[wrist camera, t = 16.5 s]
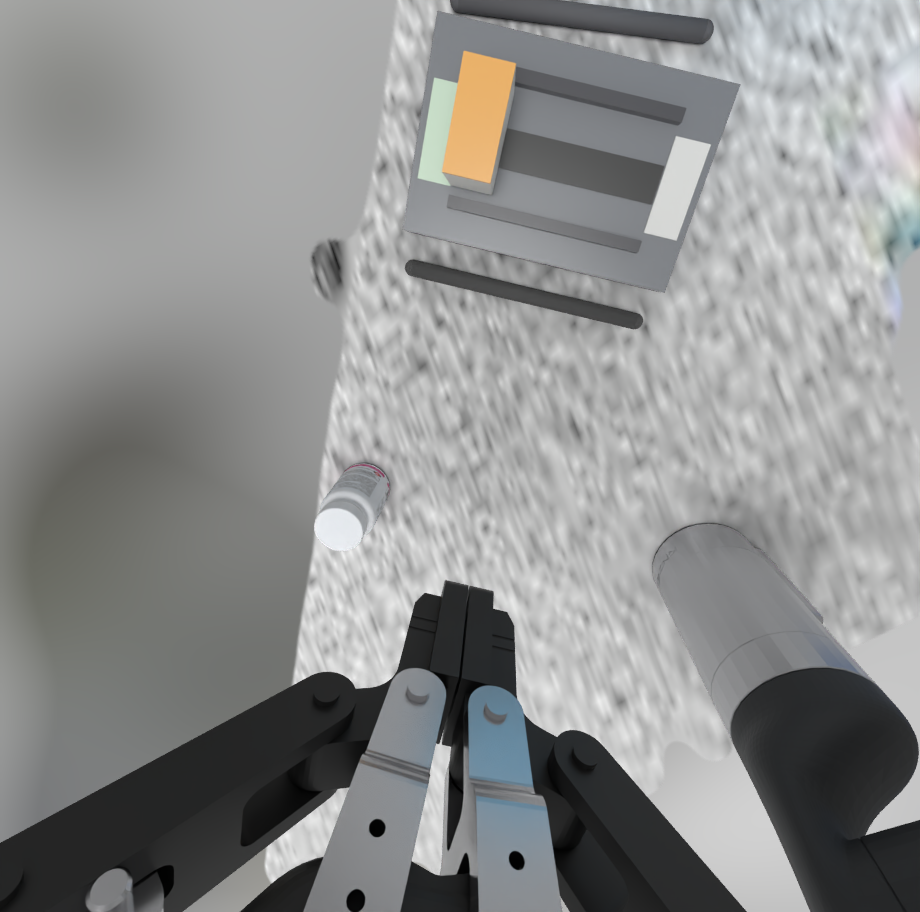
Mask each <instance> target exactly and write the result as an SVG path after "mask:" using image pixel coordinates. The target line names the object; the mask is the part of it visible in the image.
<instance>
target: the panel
mask: <svg viewBox="0 0 920 912" xmlns="http://www.w3.org/2000/svg"><path fill="white" fill-rule="evenodd" d="M464 51H468V52H472V53H476V54H480V55H484V56H488V57H492V58H497V59H501V60H505V61H509V62H513V63H516V73H515V88H514V97H513V102H512V106H511V111H510V115H509V120H508V125H507V129H506V134H505V138H504V143H503V147H502V152H501V157H500V161H499V166H498V170H497V175H496V179H495V184H494V189H493V193H492V195H488V194H484V193H480V192H476V191H472V190H468V189H463V188H459V187H455V186H451V185H450V184H449V182H448V181H447V179H446V177H445V176H444V174H443V173H442V168H443V163H444V157H445V152H446V146H447V141H448V135H449V129H450V124H451V118H452V113H453V107H454V102H455V96H456V91H457V85H458V80H459V74H460V68H461V63H462V57H463V52H464ZM739 87H740V84H737V83H732V82H728V81H724V80H720V79H716V78H712V77H708V76H704V75H700V74H695V73H691V72H687V71H683V70H679V69H675V68H671V67H667V66H663V65H658V64H654V63H650V62H646V61H642V60H638V59H634V58H630V57H626V56H621V55H617V54H613V53H609V52H605V51H601V50H597V49H593V48H588V47H584V46H580V45H576V44H572V43H568V42H564V41H560V40H556V39H551V38H547V37H543V36H539V35H535V34H531V33H527V32H523V31H519V30H514V29H510V28H506V27H502V26H498V25H494V24H490V23H486V22H482V21H477V20H473V19H469V18H465V17H461V16H457V15H453V14H449V13H444V12H440V11H437V17H436V23H435V29H434V36H433V42H432V48H431V55H430V61H429V67H428V73H427V80H426V86H425V92H424V98H423V105H422V111H421V117H420V123H419V130H418V136H417V142H416V149H415V155H414V161H413V167H412V174H411V180H410V186H409V192H408V199H407V205H406V211H405V217H404V224H403V230H405V231H408V232H412V233H416V234H420V235H424V236H429V237H433V238H437V239H441V240H445V241H449V242H454V243H458V244H462V245H466V246H470V247H474V248H478V249H483V250H487V251H491V252H495V253H499V254H503V255H508V256H512V257H516V258H520V259H524V260H528V261H533V262H537V263H541V264H545V265H549V266H553V267H558V268H562V269H566V270H570V271H574V272H578V273H583V274H587V275H591V276H595V277H599V278H603V279H608V280H612V281H616V282H620V283H624V284H628V285H633V286H637V287H641V288H645V289H649V290H653V291H658V292H664V293H665V290H666V287H667V284H668V282H669V279H670V276H671V273H672V271H673V268H674V265H675V262H676V260H677V257H678V254H679V251H680V249H681V246H682V243H683V240H684V238H685V235H686V232H687V229H688V227H689V224H690V221H691V219H692V216H693V213H694V210H695V208H696V205H697V202H698V199H699V197H700V194H701V191H702V188H703V186H704V183H705V180H706V177H707V175H708V172H709V169H710V166H711V164H712V161H713V158H714V155H715V153H716V150H717V147H718V144H719V142H720V139H721V136H722V134H723V131H724V128H725V125H726V123H727V120H728V117H729V114H730V112H731V109H732V106H733V103H734V101H735V98H736V95H737V92H738V90H739Z"/></svg>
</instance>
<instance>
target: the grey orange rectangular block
mask: <svg viewBox="0 0 920 912" xmlns="http://www.w3.org/2000/svg"><path fill="white" fill-rule="evenodd" d="M515 73H516V63H513V62H509V61H505V60H501V59H497V58H492V57H488V56H484V55H480V54H476V53H472V52H468V51H464V52H463V57H462V63H461V68H460V74H459V80H458V85H457V91H456V96H455V102H454V107H453V113H452V118H451V124H450V129H449V135H448V141H447V146H446V152H445V157H444V163H443V168H442V173H443V174H444V176H445V177H446V179H447V181H448V182H449V184H450V185H451V186H455V187H459V188H463V189H468V190H472V191H476V192H480V193H484V194H488V195H492V193H493V189H494V184H495V179H496V175H497V170H498V166H499V161H500V157H501V152H502V147H503V143H504V138H505V134H506V129H507V125H508V120H509V115H510V111H511V106H512V102H513V97H514V88H515Z"/></svg>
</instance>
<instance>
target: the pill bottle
mask: <svg viewBox="0 0 920 912" xmlns="http://www.w3.org/2000/svg"><path fill="white" fill-rule="evenodd" d="M389 492H390V485H389V481H388V479H387V477H386V475H385V474H384V473H383V472H382V471H381V470H380V469H379V468H377V467H376V466H374V465H371V464H365V463H362V464H356V465H353V466H351V467H349V468H348V469H347V470H346V471H345V472H344V473H343V474H342V476H341V477H340V478H339V480H338V481H337V483H336V484H335V485H334V487H333V488H332V489H331V491H330V492H329V493H328V494H327V496H326V497H325V498H324V500H323V502H322V504H321V507H320V513H319V514H318V516H317V517H316V520H315V524H314V530H315V534H316V536H317V538H318V539H319V540H320V542H321V543H322V544H323V545H325V546H326V547H328V548H330V549H332V550H336V551H348V550H351V549H353V548H355V547H356V546H357V545H358V544H359V543H360V542H361V540H362V538H363V537H364V536H366V535H367V534H368V533H369V532H370V531H371V530H372V528H373V527H374V525H375V523H376V521H377V519H378V517H379V515H380V513H381V511H382V509H383V507H384V505H385V502H386V500H387V498H388V496H389Z"/></svg>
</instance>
